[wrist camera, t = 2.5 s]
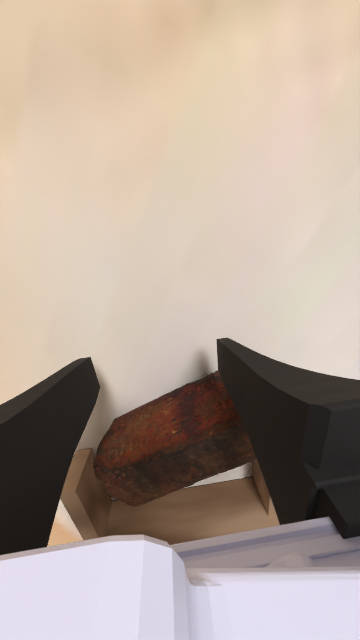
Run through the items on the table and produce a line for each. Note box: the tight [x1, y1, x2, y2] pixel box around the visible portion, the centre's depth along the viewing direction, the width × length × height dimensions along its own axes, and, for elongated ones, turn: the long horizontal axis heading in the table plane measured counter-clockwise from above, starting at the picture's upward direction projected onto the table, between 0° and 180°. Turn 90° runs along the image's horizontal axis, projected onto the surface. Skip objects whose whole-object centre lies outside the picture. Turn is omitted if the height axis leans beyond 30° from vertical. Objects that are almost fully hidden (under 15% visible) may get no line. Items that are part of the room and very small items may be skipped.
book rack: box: [60, 448, 280, 545], centre depth 14 cm, size 9×16×7 cm, turn 97°
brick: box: [93, 370, 257, 507], centre depth 13 cm, size 11×4×5 cm, turn 118°
